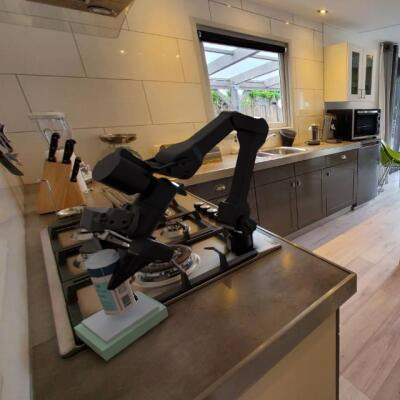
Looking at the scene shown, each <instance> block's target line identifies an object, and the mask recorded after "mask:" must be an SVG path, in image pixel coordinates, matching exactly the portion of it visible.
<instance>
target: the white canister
mask: <svg viewBox="0 0 400 400" xmlns="http://www.w3.org/2000/svg"><path fill="white" fill-rule="evenodd" d="M119 261H120V256H119V253H118V252H116V251H115V250H114V249H105V250H100V251H98V250H97V251H95V252H93V253H91V254H90V255H89V256H87V257H86V259H85V263H84V267H85V268H86V270H87V273H88V275H89V277H90V279H91V280H90V281H91V282H92V284H93V287H94V289H95V291H96V295H97V297H98V299H99V301H100V304H101V306H102V309H104V313H105V315H107V316H117V315H120V314H123V313H125V312H127V311H128V310H130V309H131V308H132V307H133V306H134V304H135V302H136V300H135V298H134V295H133V292H134V291H133V290H132V287H131V283H130V281H129V280H130V279H128V280H126V281H125V282H124V283H122V284H121V285H120V286H118V287H117V288H116V289H115V290H107V286H108V283H109V281H110V279H111V277H112V275H113V273H114V271H115V269H116V267H117V265H118V263H119Z"/></svg>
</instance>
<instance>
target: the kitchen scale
mask: <svg viewBox="0 0 400 400" xmlns="http://www.w3.org/2000/svg"><path fill="white" fill-rule="evenodd" d="M133 292H134V293H135V295H136V296H137V298H138V300H137V301H136V302H135V304H134V306H133V307H132V308H131V309H130V310H128V311H127V312H125V313H123V314H120V315H117V316H107V315H105V313H104V309H103V308H102V309H100V310H99V311H97V312H95V313H94V314H92V315H89V316H88V317H87V318H85V319H83V320H82V321H81V322H80V323H79V324H77V325H76V326H74V327H73V329H74V331H75V333H76V336H77V337H78V338H79V339H80V340H81V341H82V342H84V344H86V346H87V347H89V348H90V349H92V350H93V351H94V352H95V353H96V354H98V355H99V356H100V357H101V358H102V359H104V360H105V362H108V361H109V360H111V358H113V357H115V356H116V355H117V354H119V353H120V352H121V351H122V350H124V349H125V348H127V347H128V346H129V345H131V344H132V343H134V342H135V341H136V340H137V339H139V338H140V337H142V336H143V335H145V334H146V333H147V332H148V331H150V330H151V329H152V328H154V327H155V326H157V325H158V324H159V323H161V322H162V321H163V320H165V319H166V318H168V317H169V312H168V308H167V306H165V305H164V304H163V303H162V302H160V301H158V300H156V299H155V298H153V297H151V296H150V295H147V294H145V293H143V292H141V291H139V290H136V291H133Z"/></svg>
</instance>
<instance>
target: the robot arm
mask: <svg viewBox="0 0 400 400" xmlns="http://www.w3.org/2000/svg"><path fill="white" fill-rule="evenodd" d="M234 131H235V132H236V139H237V143H238V145H239V148H238V151H237V152H238V153H237V156H236V162H235V166H234V169H233V170H234V171H233V175H232V180H231V184H230V189H229V194H228V196H227V198H226V199H225V200H224V201H221V200H220V201H219V202H218V205H217V211H216V213H215V216H216V222H217V224H218V225H219V226H220V227H221V228H222V229H223V230H224V231H227V236H226V243H227V248H228V251H230V252H231V253H233V254H234V256H236V257H238V256H240V255H244V254H246V253H248V252H252V251H253V250H256V249H257V245H255V244H254V232H256V231H257V229H258V228H257V227H258V222H256V221H255V220H253V219H252V218H251V217H250V216H251V208H250V205H249V202H248V198H249V193H250V189H251V188H250V187H251V183H252V178H253V174H254V170H255V164H256V160H257V155H258V152H259V150H260V149H261V148H262V147H263V146H264V144H266V141H267V138H268V135H269V133H270V126H269V123H268V121H267V120H266V119H265V118H264V117H261V116H259V117H258V116H251V115H248V114H244V113H242V112H240V111H237V110H227V109H226V110H222V111H220V112H219V114H218V115H217V116H216V117H214V118H213V119H212V120H210V121H209V122H207V124H205V125H204V126H203V127H201V129H199V130H198V131H196V132H195V133H194V134H193V135H192V136H189V138H187V139H185V140H183V141H180V142H177V143H173V144H171V145H169V146H166V147H165V148H163V149H161V150H159V151H158V152H156V154H155V155H154V156H152V157H150V158H147V159H144V160H143V159H141V158H139V157H137V156H136V155H134V153H133V152H132V151H130V150H128V149H127V148H126V147H125V148H124V147H120V146H119V147H118V146H117V147H116V148H115V149H114V150H113V152H110V153H108V154H107V155H105V156H104V157H103V158H102V159H101V160H98V161H97V162H96V163H95V165H94V167H93V169H92V172H91V179H92V180H93V181H95V182H97V183H99V184H101V185H103V186H105V187H108V188H110V189H113V190H114V191H117V192H119V193H121V194H124V195H125V196H129V197H130V196H134V195H136V196H135V197H134V199H133V200H132V202H131V203H130V202H127V201H126V202H124V203H123V204H122V206H121V207H118V208H114V207H103V206H102V207H99V206H83V208H82V213H81V217H80V221H79V222H80V223H79V227H84V230H85V231H87V232H89V233H92V234H97V236H96V235H92V236H91V238H92V240H94V242H95V244H96V246H97V252H98V251H100V250H105V249H114V250H115V251H116V252H118V253H119V256H120V261H119V263H118V265H117V267H116V269H115V271H114V273H113V275H112V277H111V279H110V281H109V283H108V286H107V290H115V289H116V288H117V287H118V286H120V285H121V284H122V283H124V282H125V281H126V280H130V278H132V277H133V276H134V275H135V274H137V273H138V272H140V271H142V270H143V269H145V268H146V267H147V266H149V265H151V264H152V263H156V262H157V261H159V262H163V263H168V264H170V263H171V261H172V259H173V258H174V256H175V254H176V251H175V248H174V246H171V245H169V244H166V243H164V242H162V241H159V240H156V239H157V237H156V236H153V234H154V233H155V231H156V229H157V228H158V226H159V224H160V223H164V224H165V223H166V222H167V220H168V217H165V214H166V212H167V211H168V210H169V208H170V206H171V204H172V202H173V201H174V199H175V198H176V195H179V196H182V197H187V196H188V193H187V190H186V188H185V183H184V182H178V181H176V182H174V181H172V180H171V179H169V178H172V179H175V180H176V179H177V180H183V181H187V180H190V179H192V178H193V177H194V176H195V175H196V173H197V172H198V171H199V170H200V168H201V167H202V166H203V162H204V160H205V159H204V158H205V157H206V156H207V154H209V153H210V152H211V151H212V150H213V149H214V148H215V147H217V146H218V145H219V144H220V143H221V142H222V141H223V140H224V139H225V138H227V137H228V136H229V135H230V134H231V133H232V132H234ZM154 174H155V175H154ZM156 175H160V176H161V177H157V176H156ZM124 243H125V244H124Z"/></svg>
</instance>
